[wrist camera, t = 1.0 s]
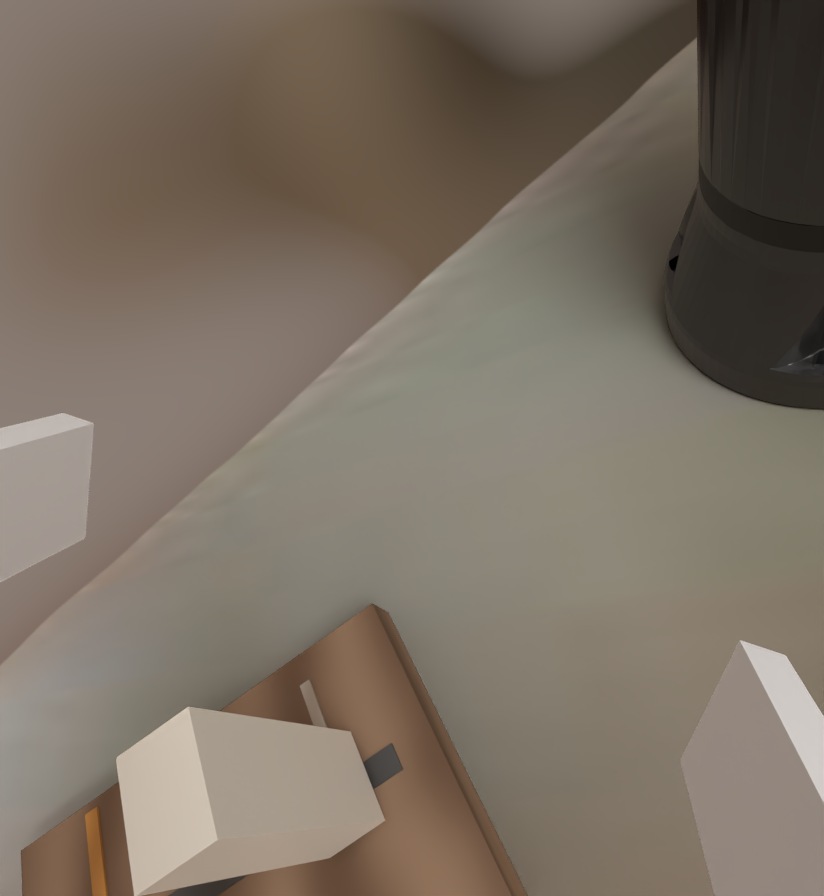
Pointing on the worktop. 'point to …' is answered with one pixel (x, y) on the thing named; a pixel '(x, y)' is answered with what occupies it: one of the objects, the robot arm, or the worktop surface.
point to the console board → (387, 765)
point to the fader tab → (239, 798)
